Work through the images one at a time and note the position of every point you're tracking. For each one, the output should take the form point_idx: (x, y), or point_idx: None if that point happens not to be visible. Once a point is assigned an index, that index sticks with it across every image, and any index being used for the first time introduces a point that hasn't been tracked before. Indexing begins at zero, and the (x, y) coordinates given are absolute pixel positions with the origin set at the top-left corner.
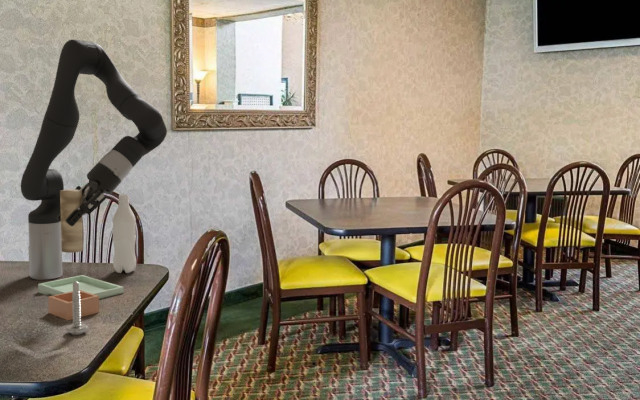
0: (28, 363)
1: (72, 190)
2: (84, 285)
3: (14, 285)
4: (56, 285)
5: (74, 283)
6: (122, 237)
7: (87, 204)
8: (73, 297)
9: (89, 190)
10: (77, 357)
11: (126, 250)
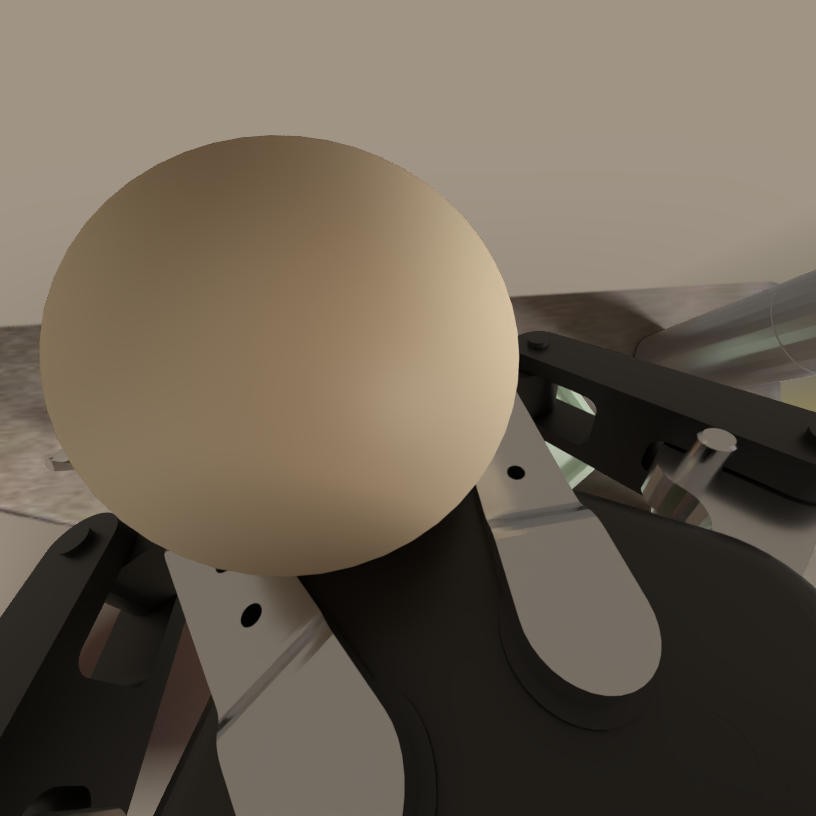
0: (13, 368)
1: (349, 363)
2: (559, 454)
3: (598, 307)
4: (562, 391)
5: (61, 455)
6: (805, 578)
7: (13, 625)
8: None
9: (264, 794)
10: (9, 467)
11: None
